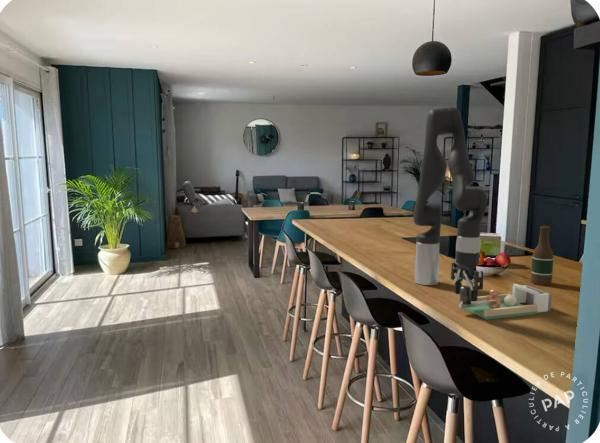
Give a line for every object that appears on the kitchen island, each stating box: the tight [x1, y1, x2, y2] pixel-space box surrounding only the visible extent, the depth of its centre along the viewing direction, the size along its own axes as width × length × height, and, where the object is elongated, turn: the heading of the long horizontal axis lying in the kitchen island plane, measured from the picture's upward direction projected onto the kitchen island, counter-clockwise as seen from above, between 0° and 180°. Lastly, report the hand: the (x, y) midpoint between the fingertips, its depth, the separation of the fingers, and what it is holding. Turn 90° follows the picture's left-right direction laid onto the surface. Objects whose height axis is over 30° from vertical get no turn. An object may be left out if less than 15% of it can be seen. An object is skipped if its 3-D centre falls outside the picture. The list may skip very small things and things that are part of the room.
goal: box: [511, 283, 553, 313], centre depth 165 cm, size 11×6×7 cm, turn 16°
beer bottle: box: [530, 225, 555, 287], centre depth 194 cm, size 8×8×24 cm
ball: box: [504, 294, 517, 306], centre depth 163 cm, size 4×4×4 cm
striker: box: [458, 284, 500, 309], centre depth 159 cm, size 5×14×8 cm, turn 106°
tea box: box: [480, 232, 502, 258], centre depth 231 cm, size 15×10×15 cm, turn 81°
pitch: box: [463, 293, 538, 321], centre depth 161 cm, size 14×20×3 cm
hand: (465, 297), depth 157 cm, fingers open, 8 cm apart
